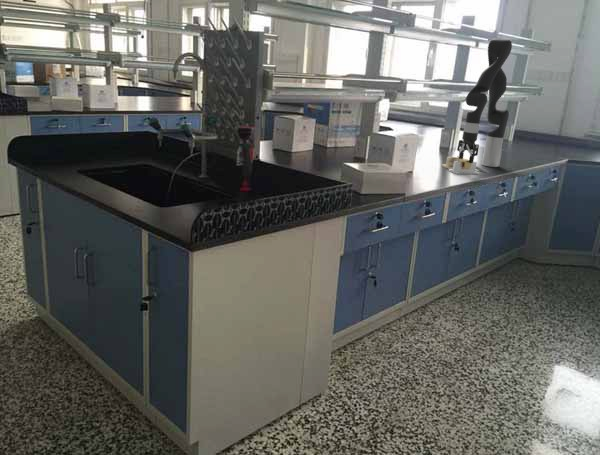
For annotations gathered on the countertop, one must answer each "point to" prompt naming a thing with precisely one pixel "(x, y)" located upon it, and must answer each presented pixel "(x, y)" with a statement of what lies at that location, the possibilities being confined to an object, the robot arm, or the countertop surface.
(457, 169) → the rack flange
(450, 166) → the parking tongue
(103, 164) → the countertop surface
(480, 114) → the robot arm
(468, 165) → the u clip
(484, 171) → the caliper
